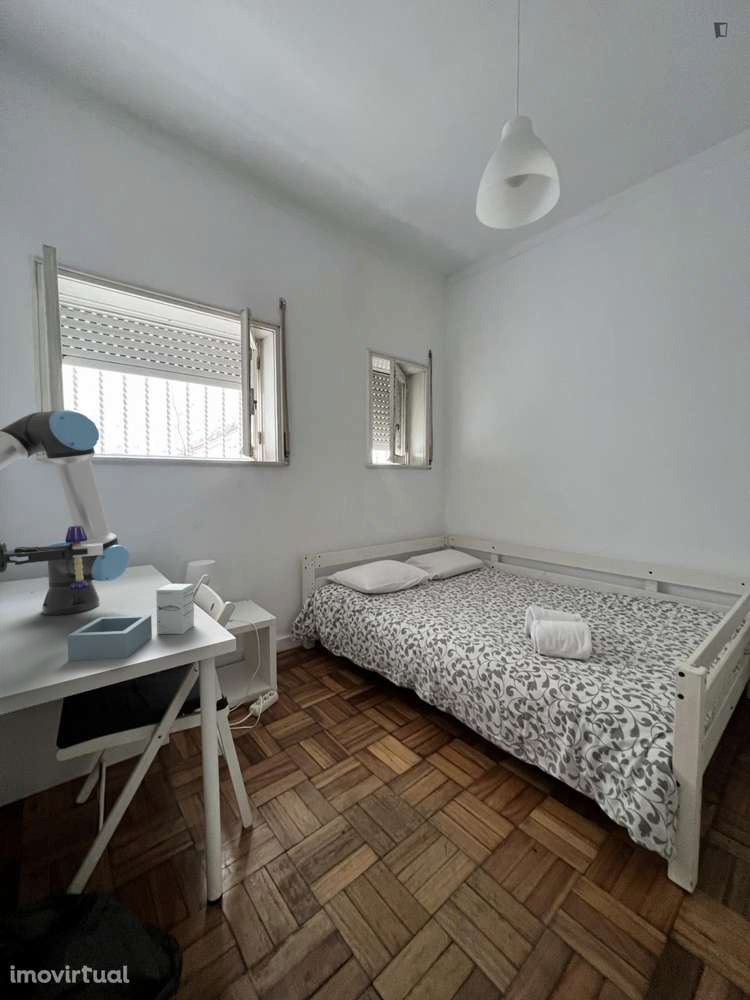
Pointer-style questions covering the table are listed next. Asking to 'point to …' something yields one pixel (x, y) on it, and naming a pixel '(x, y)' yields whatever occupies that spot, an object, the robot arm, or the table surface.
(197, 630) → the table surface
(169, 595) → the supplement box
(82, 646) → the blue-gray open box
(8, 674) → the table surface
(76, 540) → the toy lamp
